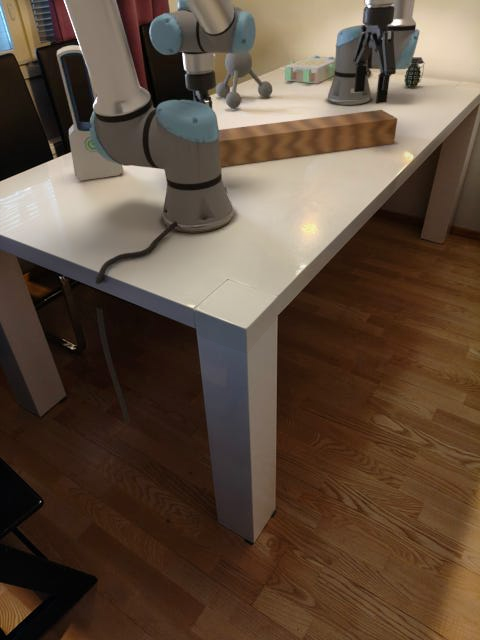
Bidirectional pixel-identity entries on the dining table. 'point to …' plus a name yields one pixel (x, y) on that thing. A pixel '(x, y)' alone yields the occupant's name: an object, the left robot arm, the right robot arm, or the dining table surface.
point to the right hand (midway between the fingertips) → (369, 96)
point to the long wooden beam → (306, 137)
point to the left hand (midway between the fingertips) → (207, 160)
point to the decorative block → (311, 70)
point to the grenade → (413, 72)
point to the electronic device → (83, 129)
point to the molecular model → (238, 68)
